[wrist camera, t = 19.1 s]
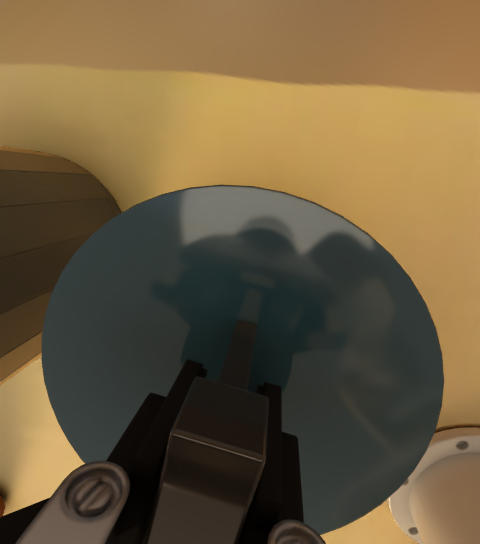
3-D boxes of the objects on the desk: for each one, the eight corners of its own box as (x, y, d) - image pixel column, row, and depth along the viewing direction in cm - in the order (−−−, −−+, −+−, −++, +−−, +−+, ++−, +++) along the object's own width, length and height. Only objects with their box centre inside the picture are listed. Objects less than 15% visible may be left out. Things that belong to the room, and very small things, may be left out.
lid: (502, 248, 10) (882, 350, 4) (350, 556, 14) (407, 855, 8) (78, 138, 11) (-206, 68, 4) (48, 461, 14) (-123, 663, 8)
